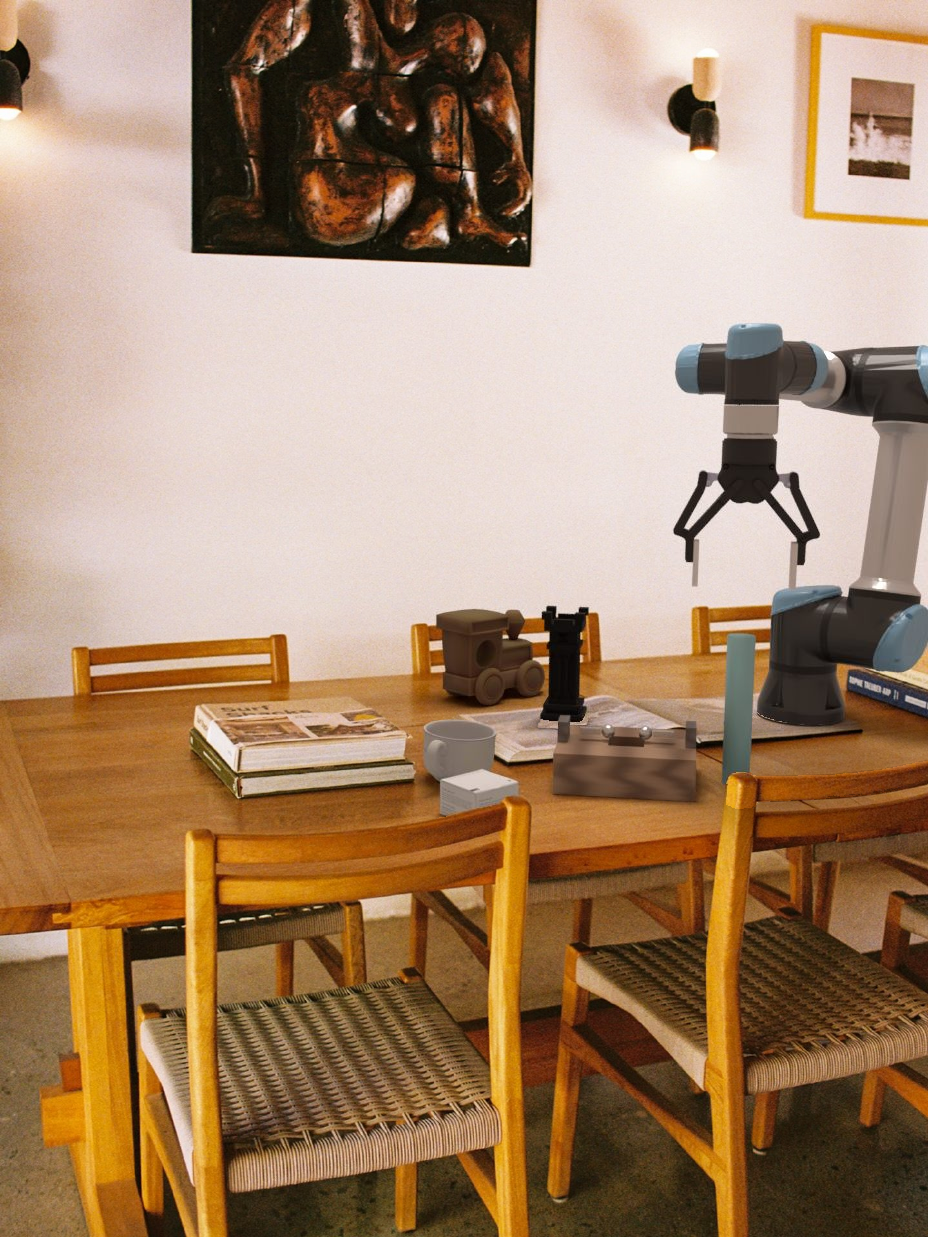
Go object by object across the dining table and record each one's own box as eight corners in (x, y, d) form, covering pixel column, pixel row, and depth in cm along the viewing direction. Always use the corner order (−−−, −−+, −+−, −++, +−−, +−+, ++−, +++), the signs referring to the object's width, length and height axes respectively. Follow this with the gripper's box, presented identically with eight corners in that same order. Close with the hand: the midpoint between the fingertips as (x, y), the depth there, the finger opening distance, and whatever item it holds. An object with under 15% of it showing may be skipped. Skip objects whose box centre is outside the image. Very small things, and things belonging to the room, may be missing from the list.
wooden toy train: (472, 711, 225) (473, 620, 222) (432, 699, 234) (431, 612, 231) (551, 694, 238) (552, 608, 235) (510, 683, 247) (510, 600, 244)
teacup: (454, 764, 193) (455, 714, 192) (510, 778, 186) (511, 726, 185) (393, 786, 182) (393, 733, 181) (450, 801, 176) (450, 746, 174)
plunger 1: (615, 736, 185) (615, 723, 185) (614, 740, 183) (614, 726, 183) (580, 734, 186) (581, 721, 186) (579, 738, 184) (580, 725, 184)
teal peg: (748, 779, 186) (755, 633, 182) (750, 787, 182) (756, 639, 178) (721, 777, 187) (726, 632, 183) (722, 786, 183) (727, 638, 179)
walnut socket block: (693, 768, 191) (695, 711, 189) (694, 801, 176) (697, 739, 174) (562, 761, 194) (563, 705, 193) (552, 793, 179) (553, 732, 177)
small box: (482, 803, 175) (482, 767, 174) (519, 817, 169) (520, 781, 168) (438, 814, 171) (438, 778, 170) (475, 830, 165) (475, 792, 164)
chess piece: (584, 730, 212) (586, 614, 209) (537, 728, 214) (538, 612, 210) (588, 719, 220) (591, 606, 217) (543, 716, 222) (545, 605, 218)
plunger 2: (673, 739, 184) (674, 726, 183) (673, 742, 182) (673, 729, 181) (638, 737, 184) (638, 724, 184) (638, 741, 183) (638, 728, 182)
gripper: (838, 436, 177) (830, 585, 181) (660, 434, 181) (655, 580, 185) (845, 438, 170) (836, 593, 173) (659, 436, 174) (654, 587, 177)
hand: (743, 587), depth 179 cm, fingers open, 13 cm apart
